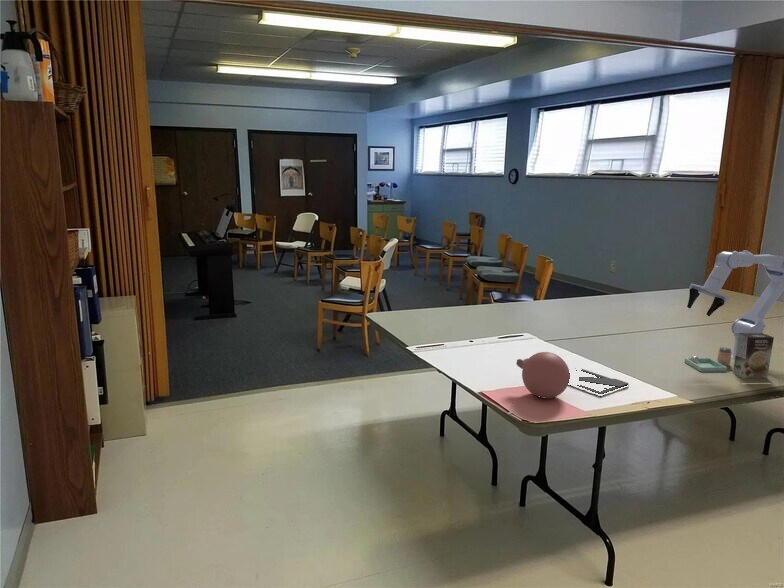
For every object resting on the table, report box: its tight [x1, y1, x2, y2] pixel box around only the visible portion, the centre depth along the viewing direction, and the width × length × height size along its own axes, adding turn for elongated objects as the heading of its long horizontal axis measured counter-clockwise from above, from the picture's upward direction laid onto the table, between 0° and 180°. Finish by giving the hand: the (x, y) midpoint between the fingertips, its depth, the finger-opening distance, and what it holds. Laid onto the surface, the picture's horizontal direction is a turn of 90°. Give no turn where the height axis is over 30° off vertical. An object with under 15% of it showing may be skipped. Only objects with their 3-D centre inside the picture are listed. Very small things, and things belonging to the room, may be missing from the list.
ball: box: [689, 355, 700, 364], centre depth 215 cm, size 3×3×3 cm
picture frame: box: [576, 368, 629, 394], centre depth 197 cm, size 16×2×21 cm
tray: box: [684, 357, 728, 373], centre depth 212 cm, size 10×11×2 cm
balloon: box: [515, 351, 570, 399], centre depth 185 cm, size 15×20×15 cm
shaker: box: [716, 346, 733, 368], centre depth 214 cm, size 4×4×7 cm
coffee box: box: [732, 332, 775, 379], centre depth 201 cm, size 9×6×16 cm
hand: (698, 311), depth 212 cm, fingers open, 7 cm apart
